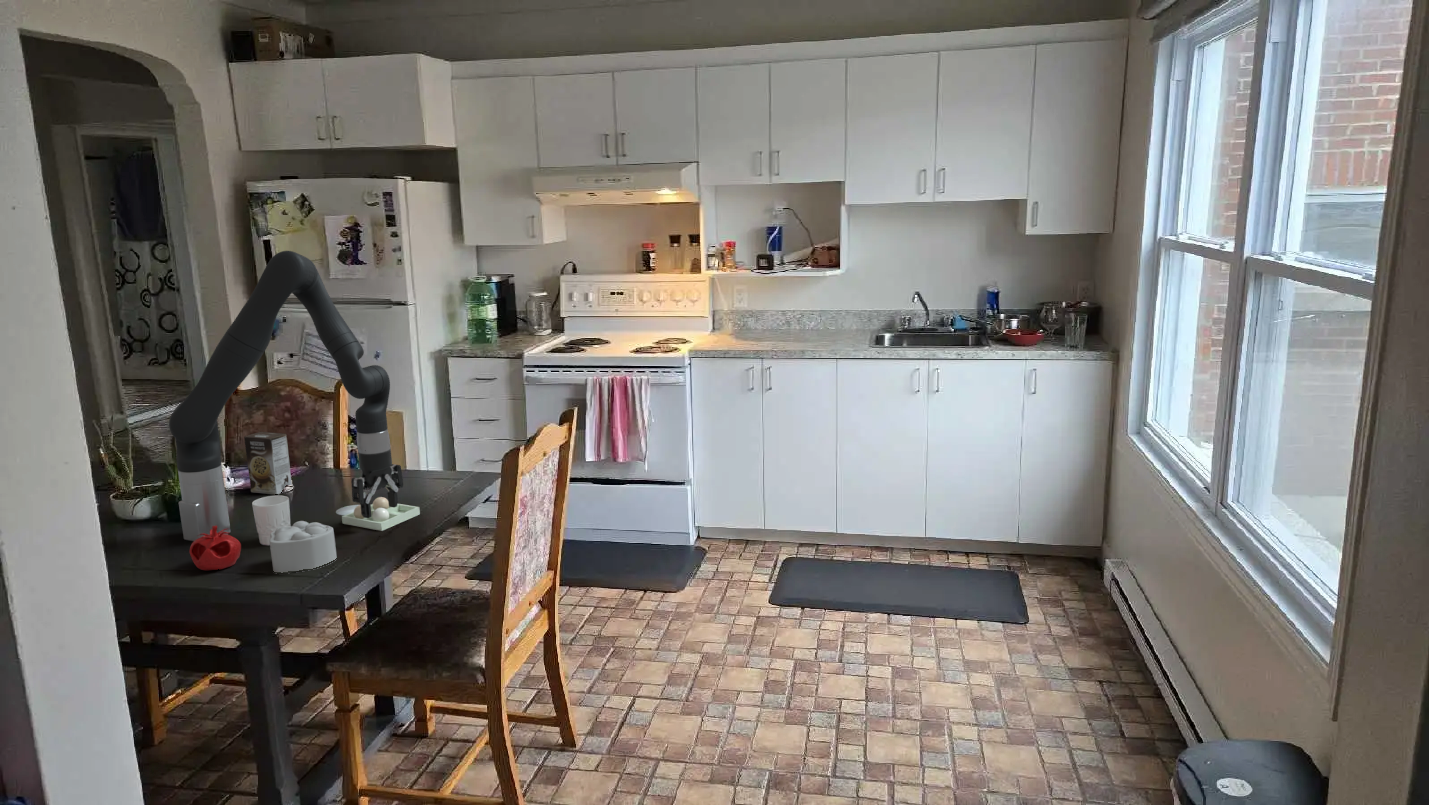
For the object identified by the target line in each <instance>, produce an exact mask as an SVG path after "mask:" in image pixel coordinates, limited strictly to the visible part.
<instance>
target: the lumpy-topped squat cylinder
mask: <svg viewBox="0 0 1429 805" xmlns="http://www.w3.org/2000/svg"><path fill="white" fill-rule="evenodd" d="M270 537H271V539H270V545H269V548H270V549H269V550H270V556H271V562H272V570H273V571H274V572H281V573H283V572H288V571H299V570H303V569H313V568H316V567H319V566H322V565H324V564H327V563H329V562H331V561H333V560H335V559H336V558H337V548H336V538H335V532H334V527H332V526H330V525H326V524H323V523H320V522H316V521H315V522H313V521H312V522H310V523H309V522H307V521H306V520H305V521H304V520H299V521H296V522H294V523H293V524H292V525H291V526H285V527H280V528H278V529H277V530H276V531H274V532H272V533H271V534H270ZM336 560H337V559H336ZM336 560H335V561H336ZM313 570H314V569H313ZM273 571H272V572H273ZM274 572H273V573H274Z"/></svg>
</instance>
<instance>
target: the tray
mask: <svg viewBox="0 0 1429 805" xmlns="http://www.w3.org/2000/svg"><path fill="white" fill-rule="evenodd" d="M357 505H358V506H357V507H356V508H355V509H354V512H352V513H349V514H347V515H341V521H342V522H341V524H344V525H348V526H353V527H360V528H365V529H370V530H374V531H375V530H376V531H380V532H381V531H382V532H383V531H385V530H387V529H390V528H391V527H393V526H396V525H399V524H400V523H403V522H405V521H407V520H410V519H412V518H414V517H416V518H415V520H416V519H417V520H418V517H417V516H418V515H420V514H421V510H420V506H415V505H408V504H401V503H398V504H397V507H390V506H389V503H388V498H386V497H382V496H378V497H376V498H375V499H374V500H373V501H372V504H370V505H371V515H372V514H373V512H374V510H376V509H377V508H385V509H386V510H388V512H389V519H388V520H386V521H383V522H376V521H374V520H373V518H372V516H371V517H370V518H365V517H363V516H362V514H361V505H360V504H357ZM408 522H409V521H408ZM408 522H406V523H408ZM398 527H400V525H399V526H397V528H398Z"/></svg>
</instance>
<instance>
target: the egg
mask: <svg viewBox="0 0 1429 805" xmlns="http://www.w3.org/2000/svg"><path fill="white" fill-rule="evenodd" d="M372 518H373V520H374V521H376V522H383V521H386V520H388V519H389V512H388V510H386V509H385V508H377V509H376V510H374V512H373V514H372Z"/></svg>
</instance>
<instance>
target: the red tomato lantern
mask: <svg viewBox="0 0 1429 805" xmlns="http://www.w3.org/2000/svg"><path fill="white" fill-rule="evenodd" d="M212 529H213V530H212ZM212 529H210V530H209V531H210V535H209V534H205V533H202V534H199V535H205V536H202V537H201V538H198V539H196V540H195V541H192V542H191V545H190V547H189V554H190V558H191V559H192V560H191V561H192V562H193V563H194V565H195V566H196V568H197V569H199V570H201V571H217V570H218V569H219V570H224V569H227V568H229V567H232V566H234V565H235V564H236V563H237V560H238V559H239V558H240V555H241V551H242V543H241V542H240V541H239V540H238V539H237V538H236V537H234V536H232V535H230V533H231V532H229V533H228V532H222V531H224V530H227V529H223V530H222V531H220V532H218V533H217V525H216V526H212ZM221 532H222V533H221ZM227 534H228V535H227ZM199 535H198V536H199Z"/></svg>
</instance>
